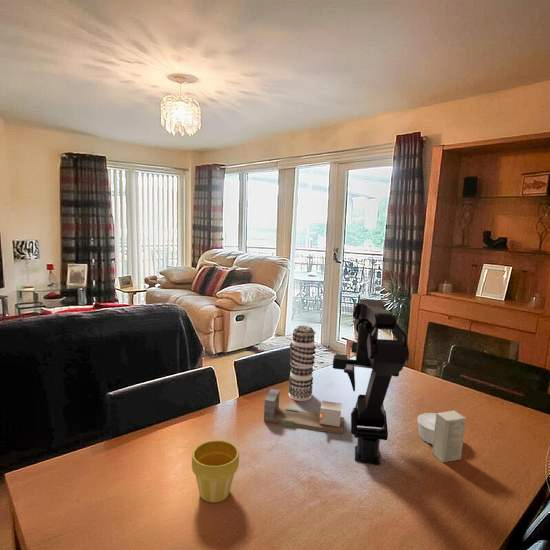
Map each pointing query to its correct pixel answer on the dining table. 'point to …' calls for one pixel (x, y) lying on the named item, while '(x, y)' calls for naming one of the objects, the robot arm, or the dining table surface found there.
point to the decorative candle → (301, 363)
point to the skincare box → (448, 436)
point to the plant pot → (215, 468)
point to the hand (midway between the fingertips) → (363, 392)
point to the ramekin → (427, 426)
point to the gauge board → (294, 416)
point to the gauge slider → (330, 413)
